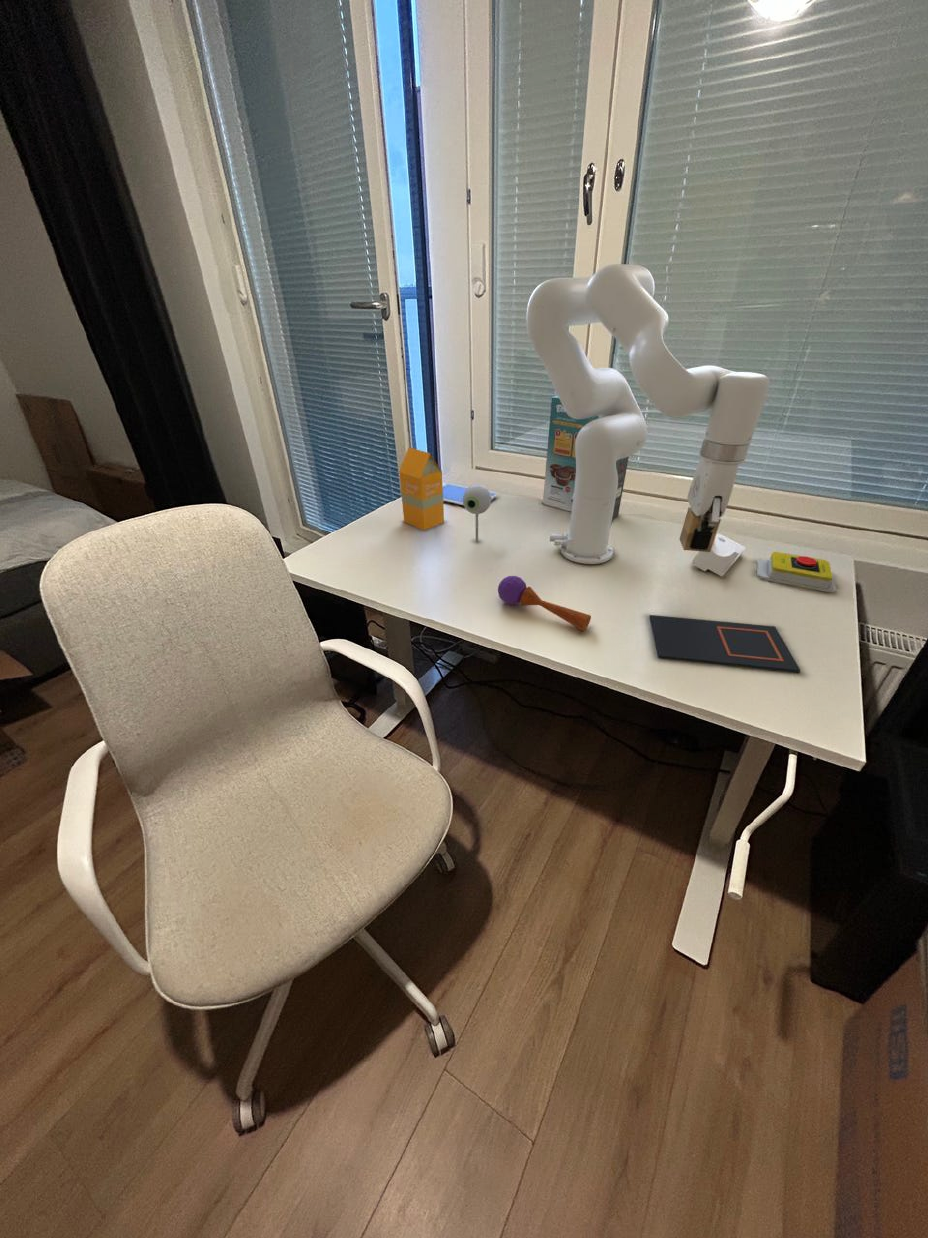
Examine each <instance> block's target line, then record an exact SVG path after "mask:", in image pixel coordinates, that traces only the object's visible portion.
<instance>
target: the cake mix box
mask: <svg viewBox="0 0 928 1238" xmlns="http://www.w3.org/2000/svg"><path fill="white" fill-rule="evenodd" d="M637 404H638V405H639V403H638V402H637ZM596 419H599V417H598V416H594V417H590V418H586V419H573V418H571V417H570V416H569V415H568V414H567V413H566V411H565V409H564V407H563V405H562V403H561V401H560V399H559V397H558V395H555V396H554V395H553V396H551V402H550V413H549V426H548V435H547V436H548V437H547V440H548V441H547V451H546V462H545V472H544V473H545V474H544V484H543V497H542V504H543V505H545V506H550V507H553V508H557V509H560V510H564V511H567V512H570V513H572V505H573V497H574V488H575V478H576V454H575V443H576V438H577V435H578V433H579V431H580V430H581V429H582V428H583V427H584V426H585V425H586V424H587V423H589V422H591V421H593V420H596ZM629 458H630V456H628V457H625V458H622V459H620V460H617V461H616V469H617V474H618V487H617V493H616V499H615V505H614V511H613V517H612V520H614V519H615V518H617V517H619V512H620V507H621V502H622V497H623V491H624V486H625V480H626V475H627V469H628V464H629V460H630V459H629Z"/></svg>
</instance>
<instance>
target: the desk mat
mask: <svg viewBox="0 0 928 1238" xmlns="http://www.w3.org/2000/svg"><path fill="white" fill-rule="evenodd" d="M649 622H650V626H651V630H652V635H653V639H654V646H655V648H656V654H657V658H658V659H665V660H674V661H684V662H691V663H692V662H693V663H702V664H710V665H711V664H712V665H721V666H731V667H741V668H750V669H758V670H759V669H760V670H767V671H768V670H769V671H778V672H787V673H797V674H799V673H801V669H800V667H799V665H798V663H797V662H796V660H795V658H794V657H793V655H792V653H791V651H790V649H789V648H788V646H787V645H786V643H785V641H784V639H783V637H782V635H781V634H780V632H779V630H778V629H777V627H776V626H775V625H764V624H763V625H762V624H753V623H743V622H741V623H740V622H731V621H719V620H710V619H697V618H688V617H687V618H686V617H677V616H676V617H675V616H665V615H657V614H655V615H654V614H653V615H652V614H649Z"/></svg>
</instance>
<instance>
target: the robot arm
mask: <svg viewBox="0 0 928 1238" xmlns="http://www.w3.org/2000/svg"><path fill="white" fill-rule="evenodd" d="M655 287H656V286H655V280H654V277H653V275H652V273H651V271H650V270H648V269H647V268H646V267H645V266H643V265H641V264H626V263H625V264H624V263H622V264H621V263H613V264H608V265H605V266H603V267H601V268H600V269H598V270H596V272H595V273H594V274H593V275H592V276H588V277H584V276H583V277H580V276H579V277H554V278H550V279H547V280H545V281H543V282H541V283H540V284H538V285H537V286H536V288H535V289H534V290H533V291H532V293H531V295H530V297H529V300H528V302H527V308H526V315H525V316H526V317H525V318H526V319H525V320H526V321H525V322H526V330H527V336H528V339H529V341H530V344H531V346H532V348H533V350H534V352H535V353H536V354H537V356H538V358H539V359H540V362H541V363H542V365H543V366H544V368H545V369H544V370H545V371H546V373H547V375H548V378H549V380H550V382H551V383H552V387H553V389H554V391H555V393H556V396H558V397H559V399H560V401H561V403H562V405H563V407H564V409H565V411H566V413H567V414H568V415H569V416H570V417H571V418H573V419H586V418H590V417H594V416H598V417H599V419H596V420H593V421H591V422H589V423H587V424H586V425H585V426H584V427H583V428H582V429H581V430H580V431H579V433H578V435H577V438H576V443H575V454H576V478H575V488H574V497H573V505H572V512H570V514H571V515H570V523H569V529H567V533H564V532H563V533H562V534H558V533H550V534H549V542H553V545H554V546H560V553H561V555H562V556H563V557H564V558H566V559H567V560H569V561H572V562H575V563H578V564H583V565H599V564H603V563H606V562H608V561H609V560H611V559H612V557H613V554H614V549H613V547H612V546H611V545H610V544H609V540H610V535H611V534H610V533H611V528H612V522H613V519H612V517H613V511H614V505H615V499H616V493H617V487H618V474H617V469H616V461H617V460H620V459H622V458H625V457H628V456H629V457H630V456H633V455H635V454H637V453H639V451H641V450H642V449H643V447H644V446H645V445H646V442H647V438H648V426H647V423H646V420H645V417H644V414H643V413H642V410H641V408H640V405H639V403H638V402H637V400H636V398H635V396H634V394H633V392H632V389H631V386H630V384H629V382H628V381H627V379H626V378H625V376H624V375H623V373H622V372H620V371H618V369H616V368H612V367H599V368H595V367H593V366H592V364H591V362H590V360H589V359H588V357H587V355H586V352H585V350H584V348H583V346H582V345H581V343H580V342H579V340H578V339H577V338H576V337H575V336H574V335H573V334H572V333H571V332H570V331H569V329H568V328H567V327H573V326H584V325H585V326H586V325H591V324H597V323H601V324H602V325H603V326H604V328H605V329H606V330H607V331H608V333H610V334H611V335H612V337H613V338H614V339H615V340H616V341H617V343H618V344H619V345H620V346H621V347H622V348H623V349H624V351H625V352H626V353H627V354H628V356H629V366H630V370H631V373H632V376H633V379H634V382H635V383H636V386H637V387H638V389H639V390H640V391H641V393H643V395H644V396H645V397H646V398H647V400H649V401H650V403H651V404H652V405H653V406H654V407H655V408H656V409H657V410H658V411H659V412H661V414H663V415H665V416H667V417H669V418H673V419H674V418H675V419H681V418H685V417H688V416H693V415H695V414H700V413H705V412H710V414H709V418H708V423H707V426H706V428H705V433H704V437H703V440H702V444H701V447H700V450H699V454H698V457H699V458H700V459H699V461H698V464H697V466H696V469H695V471H694V475H693V478H692V481H691V484H690V486H689V490H688V492H687V493H688V494H687V498H686V499H687V502H688V504H689V507H691V508H692V510H693V512H694V514H695V515H696V516H700V518H699V523H698V527H697V529H695V531H694V534H693V537H692V541H691V544H690V548H691V549H701V550H706V549H708V546H709V543H710V540H711V537H712V534H713V532H714V529H715V526H716V525H718V523H719V518H722V517H723V516H724V515H725V513H726V510H727V508H728V505H729V502H730V498H731V495H732V492H733V488H734V485H735V481H736V477H737V474H738V468H739V465H740V464H743V463H745V460H746V457H747V454H748V451H749V448H750V445H751V443H752V440H753V436H754V434H755V430H756V427H757V425H758V421H759V418H760V416H761V412H762V409H763V406H764V404H765V401H766V398H767V395H768V392H769V389H770V379H769V377H768V376H766V375H764V374H763V373H762V374H761V373H757V372H751V371H750V372H748V371H733V370H730V369H726V368H723V367H721V366H717V365H709V364H708V365H702V366H695V367H691V368H685V367H684V366H683V365H682V364H681V363H680V362H679V361H678V360H677V358H675V356H674V355H673V354H672V353H671V351H670V350H669V349H668V347H667V345H666V344H665V340H664V337H663V336H664V334H665V332H666V330H667V328H668V327H669V326H668V325H669V320H670V318H669V315H668V313H667V312H666V310H665V309H664V308H663V307H662V306H661V305H660V304H659V303H658V302H657V301H656V300H655V299H654V295H655V290H656V289H655ZM637 403H638V404H637ZM707 511H708V512H710V514H705V513H706V512H707ZM704 518H709V520H708V521H705V522H704ZM703 522H704V523H703Z"/></svg>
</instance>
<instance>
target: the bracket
mask: <svg viewBox="0 0 928 1238" xmlns="http://www.w3.org/2000/svg"><path fill="white" fill-rule="evenodd" d="M746 548H747V547H746V546H744V545H742V544H739V543H738V542H736V541H735V540H733V539H731V538H729V537H727V536H725V535H723V534H721V533H720V532H717V533H716V536H715V539H714V542H713V545H712V548H711V551H710V552H702V551H698V553H697V554H696V556H695V558H694V559H693V561H692V562H691V565H693V566H695V567H696V568H698V569H700V570H701V571H704V572H706V571H708V570H709V571H711V572H712V573H714V574H716V575H718V576H720V577H723V576H724V575H725V574H727V572H728V570H730V568H731V567H732V566H733V565H734V564H735V563H736V562H737V560H738V559H739V558H740V557H741V555H742V554H743V553H744V551H745V550H746Z"/></svg>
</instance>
